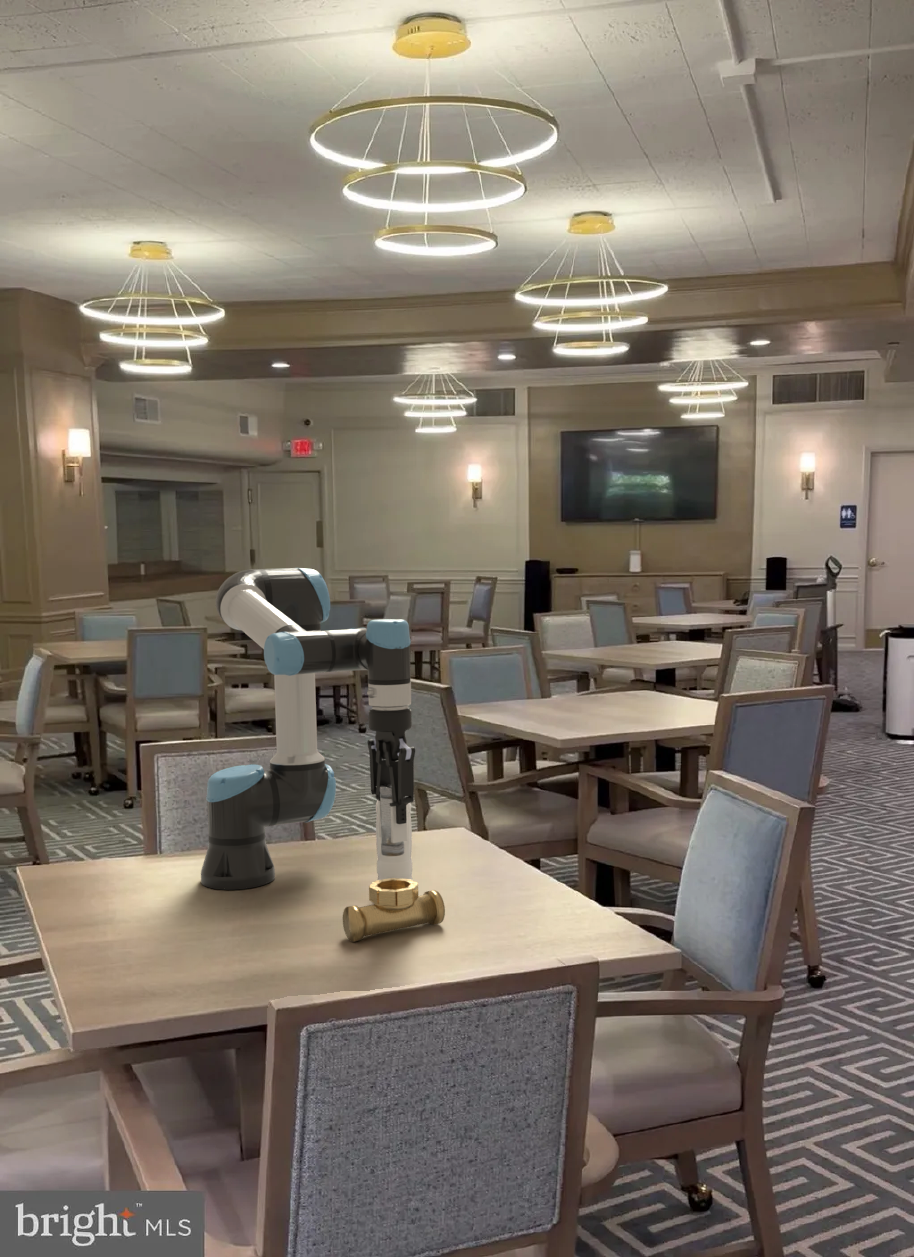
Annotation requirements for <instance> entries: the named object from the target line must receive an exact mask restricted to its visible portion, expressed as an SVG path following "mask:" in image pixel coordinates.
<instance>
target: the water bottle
mask: <svg viewBox="0 0 914 1257" xmlns="http://www.w3.org/2000/svg"><path fill="white" fill-rule="evenodd" d="M411 803H412V802H411ZM411 803H408V804H407V805H406V818H407V841H404V854H403V855H400V856H384V855H382V853H381V838H380V837H379V819H378V800H377V799H376V803H375V812H376V819H375V820H376V821H375V838H376V839H375V840H376V842H375V843H376V854H377V861H376V873H377V879H376V881H378V880H383V879H388V878H391V879H392V878H401V879H410V880H413V860H412V853H413V852H412V850H413V840H412V839H413V838H412V836H413V832H412V818H411V817H412V816H411V815H412V814H411V811H412V804H411Z"/></svg>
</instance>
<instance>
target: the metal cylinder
mask: <svg viewBox="0 0 914 1257" xmlns="http://www.w3.org/2000/svg"><path fill="white" fill-rule="evenodd" d="M389 803H393V797H392V788H391V784H386V785H382V786H380V808H381V853H382V855H384V856H400V855H403V854H404V841H403V842H396V843H392V842H391V806H390V804H389Z"/></svg>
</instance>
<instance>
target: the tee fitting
mask: <svg viewBox="0 0 914 1257" xmlns="http://www.w3.org/2000/svg"><path fill="white" fill-rule="evenodd" d="M377 880H378V879H377ZM377 880H375V881H372V883H370V884H369V885H368V899H369V901H370V902H372V904H371V905H365V906H361V907H359V906H358V905H349V906H346V907H345V908H344V909H343V912H342V928H343V931H344V934H345V936H346V938H347V940H348V941H350V942H352V943H355V942H359V941H362V940H363V939H364V937H368V936H373V935H377V934H382V933H383V934H384V933H387V932H392V931H396V930H403V929H406V928H411V927H416V926H421V925H425V924H428V925H431V926H434V925H439V924H440V925H441V924H442V923H443V922H444V920H445V916H446V909H445V908H446V906H445V903H444V902H445V901H444V899H443V896H442V895H441V894H440V892H439V891H438V890H435V889H432V890H428V891H427V890H426V891H424V892H423V894H422V895H419V882H417V881H414V880H413V879H412V880H410V879H401V878H392V879H391V878H388V879H383V880H378V881H377Z"/></svg>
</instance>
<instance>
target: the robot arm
mask: <svg viewBox="0 0 914 1257" xmlns="http://www.w3.org/2000/svg"><path fill="white" fill-rule="evenodd" d="M329 592H330V591H329V589H328V586H327V583H326V581H325V580H324V577H323V576H322V574H321V573H320V572H319V571H318V570H315V569H312V568H303V567H292V568H291V567H287V568H285V567H284V568H259V569H258V568H250V569H245V570H240V571H238V572H236V573H233V574H232V575H230V576H229V577H227V578H226V579H225V580H224V582H222V584H221V585H220V587H219V588H218V591H217V592H216V597H215V609H216V612H217V614H218V616H219V617H220V619H221V620H222V622H224V623H225V624H226V625H227V626H228V627H229V628H231V629H234V630H238V631H242V633H245V635H247V636H248V637H249V638H250V639H251V640H253V642H255V643H256V644H257V645H258V646H259V647H260V648H261V649H263V658H264V659H263V660H264V663H265V665H266V667H267V670H268V672H269V673H271V674H272V675H274V676H273V680H274V705H275V706H274V707H275V735H276V736H275V738H276V753H275V754H274V755H273V756H272V757H271V759H270V760H269V770H265V769H264V768H263V765H261V764H245V765H244V764H243V765H235V766H231V767H227V768H224V769H220V770H218V771H216V772H215V773H213V774H211V776H210V777H209V778H208V779H207V782H206V784H207V786H206V796H205V799H206V800H205V801H206V802H207V803H206V804H207V805H206V806H207V833H208V837H207V838H208V845H207V846H208V847H207V848H206V849H207V850H206V854H205V856H204V861H203V864H202V867H201V870H200V883H201V885H203V886H204V887H206V888H209V889H213V890H226V891H231V890H232V891H233V890H245V889H251V888H252V889H253V888H256V887H261V886H264V885H267V884H269V883H271V882H272V881H274V880H275V878H276V875H275V874H276V873H275V870H276V869H275V865H274V862H273V859H272V857H271V853H270V852H269V851H270V850H269V848H268V846H267V843H266V828H267V827H275V826H282V825H289V824H297V823H298V824H299V823H310V822H311V821H316V820H317V821H318V820H322V819H324V818H326V817H327V816H328V815H329V814H330V812H331V810H332V808H333V806H334V803H335V800H336V793H337V791H336V790H337V781H336V778H335V772H334V770H333V768H332V766H331V765H329V764H327V763H325V762H326V761H325V760H326V758H325V756H323V755H322V754H321V753H320V752H319V750H318V735H317V734H318V732H317V730H318V729H317V704H316V702H317V700H316V698H317V697H316V674H319V673H334V672H335V673H336V672H351V671H367V684H368V688H367V689H368V690H367V692H366V693H367V694H366V695H367V696H368V705H369V707H371V708H370V709H369V710H368V728H369V730H370V731H373V732H375V734H374V739H372V738H371V739H367V748H368V753H369V776H370V793H371V795H375V799H376V801H377V800H378V819H379V837H380V838H381V808H380V786H382V785H386V784H391V788H392V797H393V803H389V804H390V806H391V842H392V843H396V842H403V841H407V818H406V805H407V804H408V803H414V800H415V799H414V797H415V795H414V792H415V791H414V790H415V789H414V785H415V784H414V780H415V779H414V777H415V775H414V773H415V771H414V770H415V769H414V768H415V767H414V764H415V762H414V760H415V757H416V756H415V755H416V748H415V747H414V746H408V744H407V737H406V731H409V730H410V729H411V728H412V727H413V726H412V724H413V722H412V721H413V720H412V709H411V708H410V706H411V704H412V681H411V644H412V642H411V641H412V640H411V638H410V637H411V636H410V626H409V623H408V621H407V620H406V619H400V618H398V619H397V618H396V619H395V618H392V619H391V618H383V619H372V620H369V621H368V623H367V624H366V627H352V628H347V629H331V630H321V626H322V625H321V624H322V623H324V622H326V621H327V620H328V619H329V617H330V611H331V599H330V598H331V597H330V593H329Z"/></svg>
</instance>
